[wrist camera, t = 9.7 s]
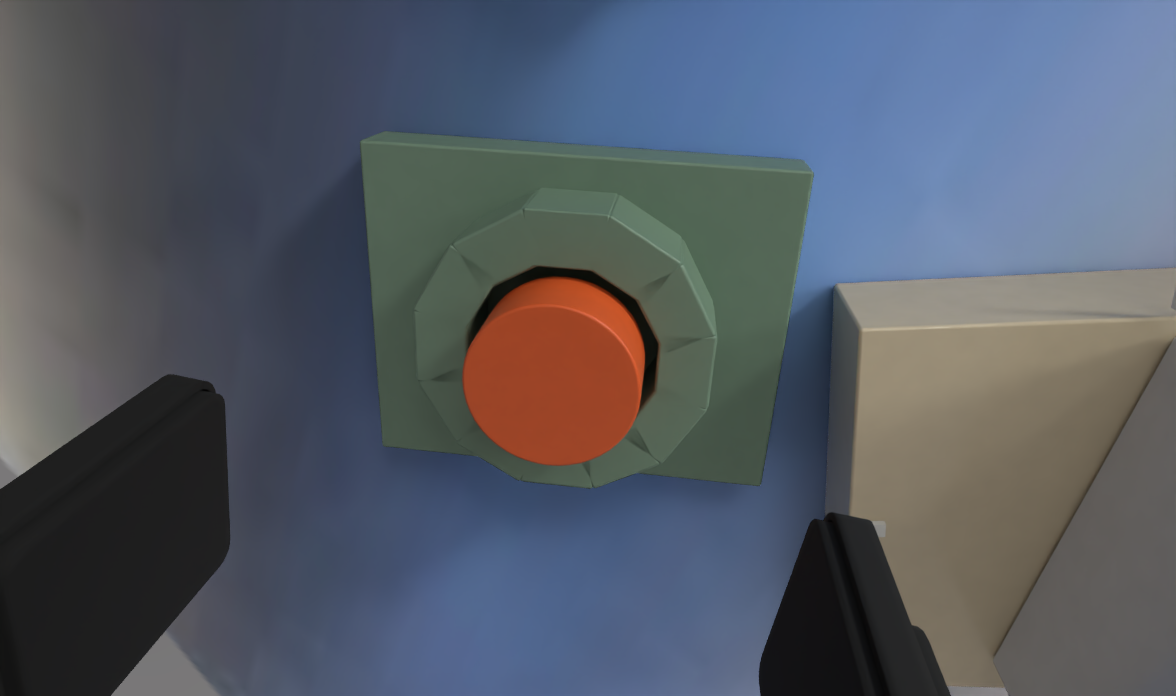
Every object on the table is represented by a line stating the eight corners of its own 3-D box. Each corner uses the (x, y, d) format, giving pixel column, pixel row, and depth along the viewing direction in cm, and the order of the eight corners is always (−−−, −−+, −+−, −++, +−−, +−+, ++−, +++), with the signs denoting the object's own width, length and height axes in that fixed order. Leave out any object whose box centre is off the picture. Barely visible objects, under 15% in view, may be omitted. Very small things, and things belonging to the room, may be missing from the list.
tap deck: (1453, 181, 16) (1624, 217, 13) (1282, 652, 21) (1377, 753, 18) (809, 219, 18) (833, 258, 15) (798, 642, 23) (815, 733, 20)
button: (651, 282, 16) (648, 313, 14) (639, 433, 17) (634, 475, 15) (482, 268, 16) (459, 296, 14) (483, 417, 17) (463, 457, 16)
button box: (804, 159, 17) (831, 191, 14) (755, 456, 20) (768, 537, 17) (382, 130, 18) (318, 154, 15) (401, 419, 21) (351, 490, 18)
